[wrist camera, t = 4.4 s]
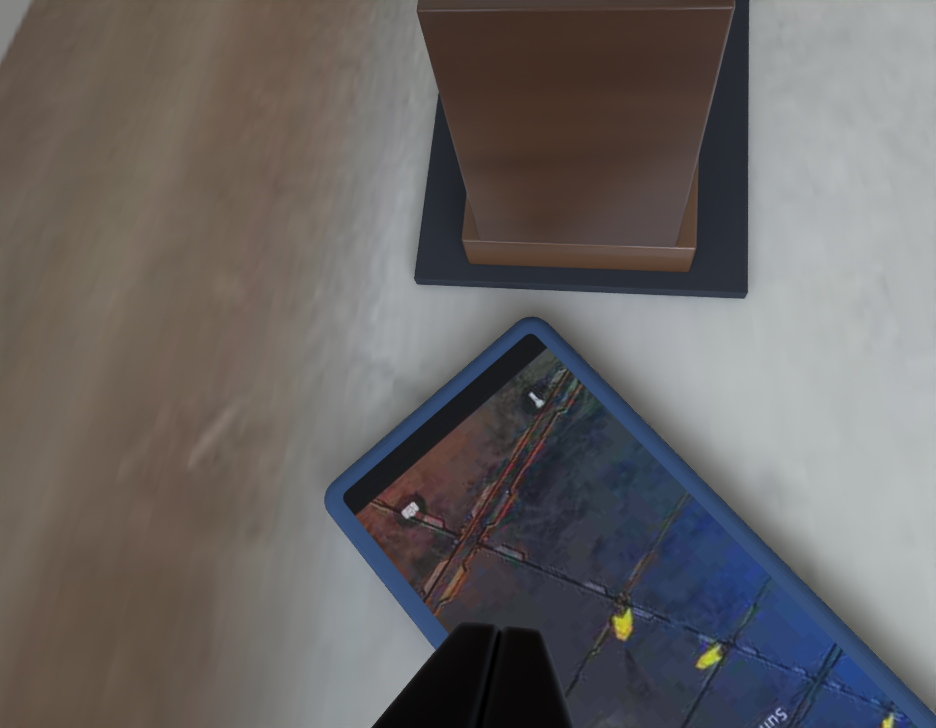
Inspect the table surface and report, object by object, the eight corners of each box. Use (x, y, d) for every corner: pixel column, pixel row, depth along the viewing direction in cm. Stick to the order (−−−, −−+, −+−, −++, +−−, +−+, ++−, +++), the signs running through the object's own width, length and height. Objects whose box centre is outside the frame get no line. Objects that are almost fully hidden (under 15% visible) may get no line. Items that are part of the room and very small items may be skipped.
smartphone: (532, 304, 21) (1018, 795, 17) (534, 314, 22) (1000, 787, 18) (310, 496, 21) (753, 1065, 16) (320, 500, 22) (746, 1045, 17)
